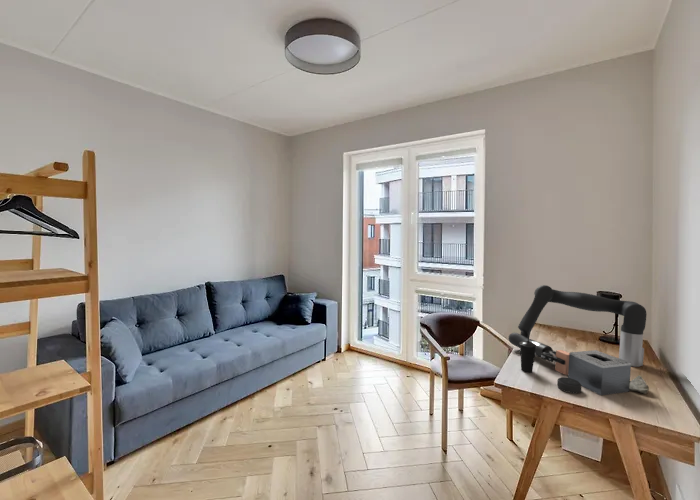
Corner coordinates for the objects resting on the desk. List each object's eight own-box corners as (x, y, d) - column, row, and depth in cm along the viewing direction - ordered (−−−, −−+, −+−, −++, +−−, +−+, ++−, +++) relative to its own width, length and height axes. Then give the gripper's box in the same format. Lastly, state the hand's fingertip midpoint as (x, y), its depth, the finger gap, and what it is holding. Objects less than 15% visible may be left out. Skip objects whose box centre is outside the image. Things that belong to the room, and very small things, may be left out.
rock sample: (614, 375, 155) (634, 367, 151) (625, 385, 156) (645, 377, 152) (624, 394, 146) (646, 386, 142) (635, 404, 147) (657, 396, 143)
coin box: (594, 376, 163) (595, 350, 162) (628, 391, 147) (631, 362, 147) (567, 379, 159) (569, 352, 158) (600, 395, 143) (602, 365, 142)
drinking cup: (533, 369, 170) (535, 330, 169) (536, 375, 163) (539, 334, 161) (517, 366, 172) (519, 328, 171) (519, 372, 165) (521, 332, 164)
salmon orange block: (555, 369, 169) (556, 350, 169) (560, 369, 170) (561, 350, 170) (565, 374, 164) (566, 354, 163) (571, 374, 165) (572, 354, 164)
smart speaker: (554, 389, 148) (555, 380, 148) (560, 383, 155) (560, 374, 154) (578, 396, 142) (578, 387, 142) (583, 390, 148) (583, 381, 148)
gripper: (530, 344, 178) (557, 355, 162) (551, 342, 182) (580, 353, 166) (529, 357, 179) (556, 371, 162) (550, 355, 183) (579, 368, 166)
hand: (568, 362), depth 164 cm, fingers open, 4 cm apart
